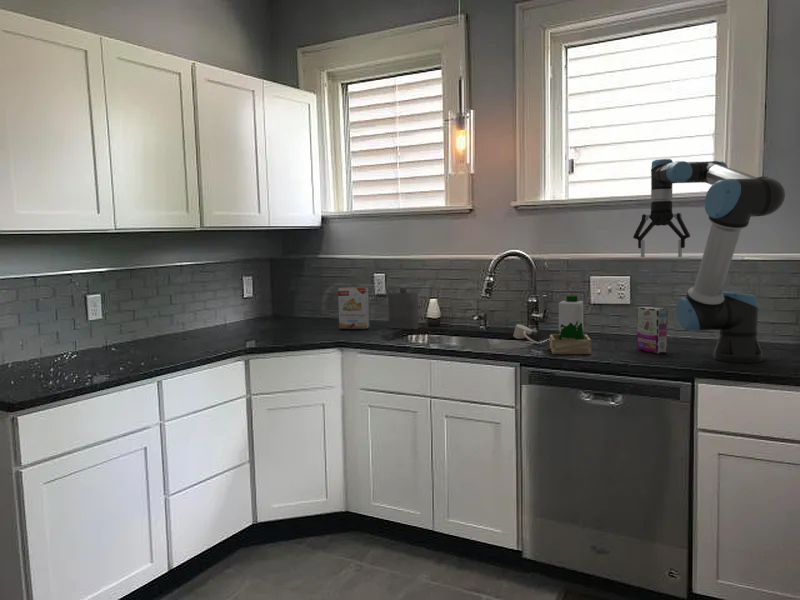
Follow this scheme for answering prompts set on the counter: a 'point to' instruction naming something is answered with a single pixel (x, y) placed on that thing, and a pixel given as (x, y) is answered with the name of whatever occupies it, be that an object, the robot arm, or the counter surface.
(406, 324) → the flask
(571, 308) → the soya milk
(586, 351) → the caddy
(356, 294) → the cracker box
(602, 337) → the counter surface
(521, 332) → the toilet paper hanger
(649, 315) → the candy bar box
